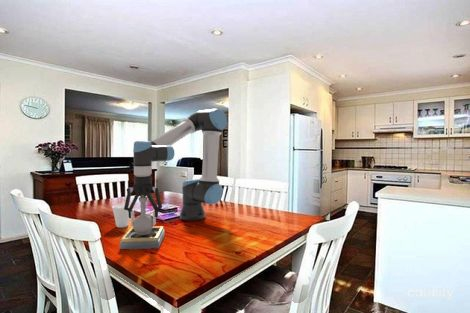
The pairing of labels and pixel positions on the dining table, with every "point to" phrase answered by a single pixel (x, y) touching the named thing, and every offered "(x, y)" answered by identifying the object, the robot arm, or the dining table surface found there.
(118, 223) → the cup
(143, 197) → the potion bottle
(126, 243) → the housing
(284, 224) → the dining table surface
